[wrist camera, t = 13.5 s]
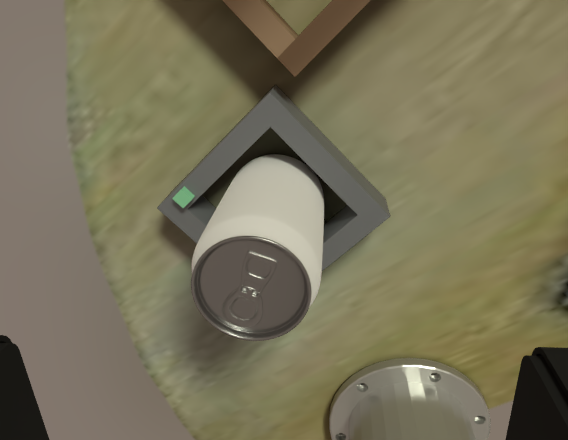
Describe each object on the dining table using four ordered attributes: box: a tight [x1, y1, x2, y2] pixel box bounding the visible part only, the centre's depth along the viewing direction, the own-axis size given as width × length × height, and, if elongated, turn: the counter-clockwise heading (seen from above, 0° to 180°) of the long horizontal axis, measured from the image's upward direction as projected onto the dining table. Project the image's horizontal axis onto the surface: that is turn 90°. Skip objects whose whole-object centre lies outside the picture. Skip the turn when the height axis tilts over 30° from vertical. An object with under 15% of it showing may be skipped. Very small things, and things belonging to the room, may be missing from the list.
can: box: [191, 154, 324, 341], centre depth 28 cm, size 6×6×12 cm
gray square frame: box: [157, 85, 390, 271], centre depth 32 cm, size 10×10×4 cm
